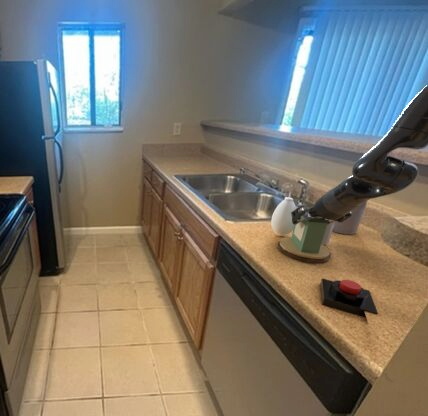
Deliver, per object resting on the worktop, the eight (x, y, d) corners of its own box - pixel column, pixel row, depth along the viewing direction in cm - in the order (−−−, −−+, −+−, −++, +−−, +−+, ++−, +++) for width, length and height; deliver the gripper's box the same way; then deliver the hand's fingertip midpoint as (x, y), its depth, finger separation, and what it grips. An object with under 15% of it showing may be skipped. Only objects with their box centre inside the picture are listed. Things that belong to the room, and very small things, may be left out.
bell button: (357, 288, 71) (360, 282, 70) (360, 296, 68) (362, 291, 67) (338, 283, 73) (340, 277, 72) (339, 291, 70) (341, 285, 69)
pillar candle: (321, 223, 116) (330, 190, 110) (348, 225, 113) (359, 191, 108) (332, 233, 107) (344, 197, 102) (362, 236, 105) (375, 199, 99)
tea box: (317, 240, 99) (326, 207, 94) (338, 261, 86) (350, 224, 82) (274, 237, 102) (281, 205, 98) (287, 256, 90) (297, 220, 85)
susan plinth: (327, 248, 97) (328, 244, 96) (331, 269, 85) (333, 264, 84) (278, 238, 104) (279, 234, 104) (275, 255, 93) (276, 251, 92)
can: (313, 236, 105) (321, 207, 101) (333, 245, 99) (343, 214, 94) (297, 239, 104) (305, 209, 99) (317, 248, 97) (326, 217, 93)
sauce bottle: (284, 230, 110) (294, 188, 104) (296, 239, 103) (308, 194, 97) (264, 230, 111) (273, 188, 104) (275, 239, 103) (286, 194, 97)
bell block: (366, 297, 73) (371, 284, 71) (374, 320, 65) (380, 307, 64) (319, 284, 78) (323, 272, 77) (322, 305, 70) (326, 292, 69)
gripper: (363, 191, 78) (329, 213, 92) (307, 189, 80) (283, 211, 95) (370, 215, 75) (334, 234, 89) (312, 212, 77) (286, 231, 92)
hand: (307, 222), depth 92 cm, fingers open, 8 cm apart
